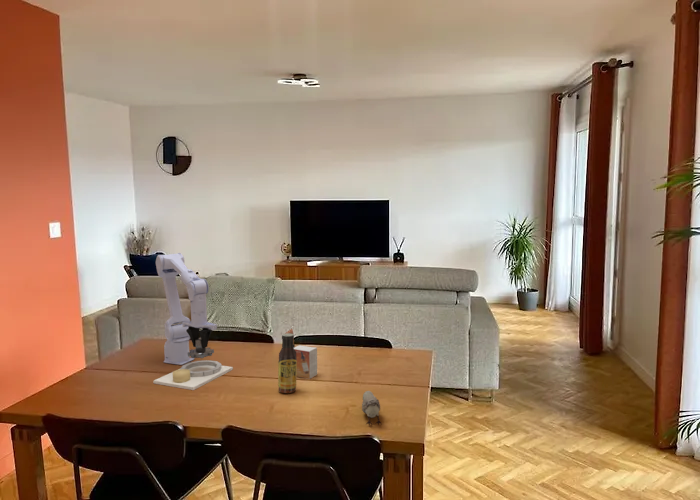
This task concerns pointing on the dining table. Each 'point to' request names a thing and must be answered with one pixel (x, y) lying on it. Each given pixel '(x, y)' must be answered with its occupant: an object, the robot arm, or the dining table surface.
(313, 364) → the small box
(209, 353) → the gear
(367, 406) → the decorative bird
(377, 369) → the dining table surface
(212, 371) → the carrier plate
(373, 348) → the dining table surface
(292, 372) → the sauce bottle
